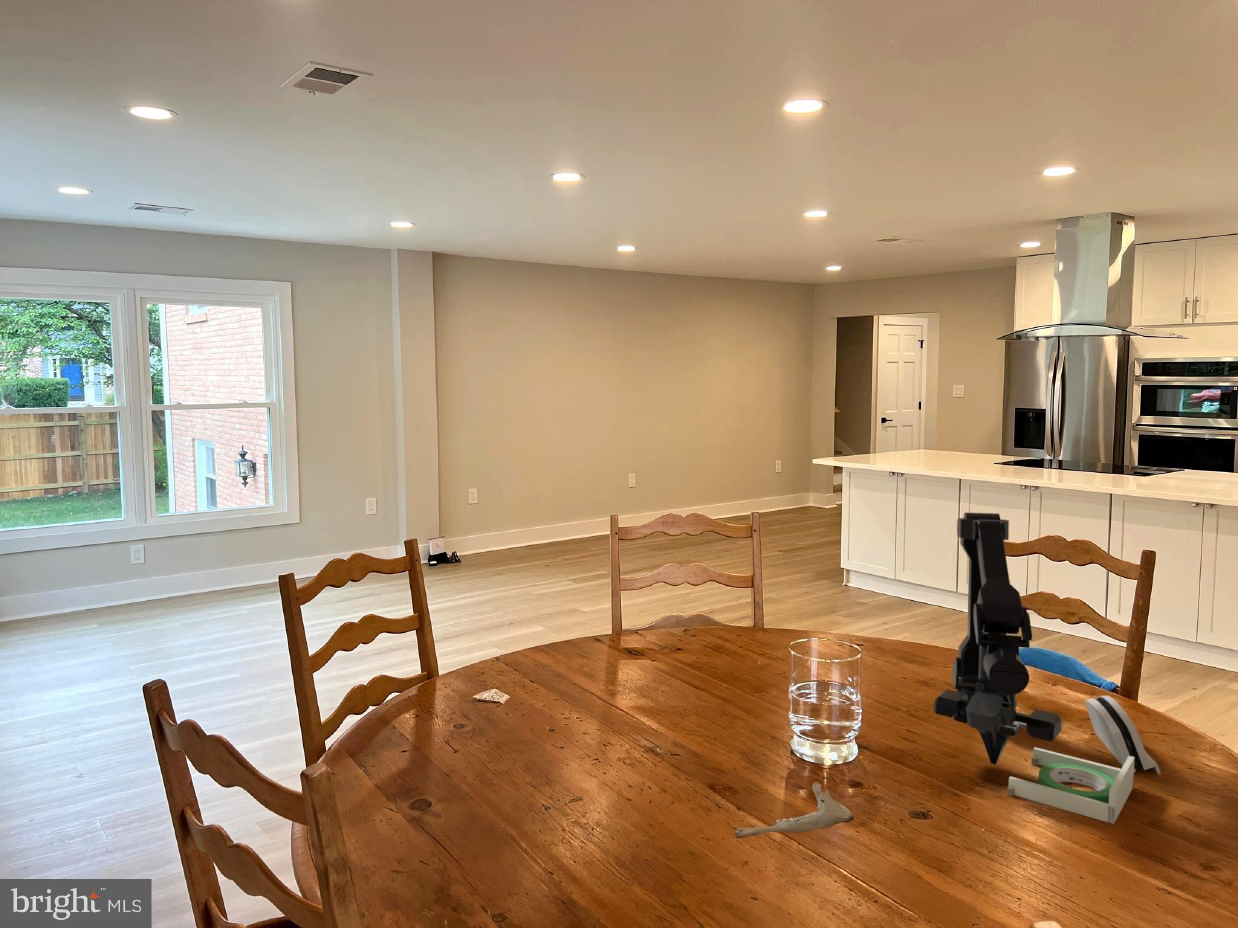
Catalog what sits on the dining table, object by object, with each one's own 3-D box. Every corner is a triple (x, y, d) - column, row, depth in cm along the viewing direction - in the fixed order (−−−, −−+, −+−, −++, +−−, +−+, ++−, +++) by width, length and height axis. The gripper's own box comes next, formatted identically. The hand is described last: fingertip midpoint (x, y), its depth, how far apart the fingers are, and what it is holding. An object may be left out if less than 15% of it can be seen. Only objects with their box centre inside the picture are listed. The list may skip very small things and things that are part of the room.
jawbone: (865, 815, 129) (866, 803, 129) (782, 869, 116) (783, 855, 115) (816, 790, 136) (817, 778, 135) (731, 839, 122) (732, 825, 122)
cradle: (1006, 795, 133) (1007, 764, 133) (1035, 759, 145) (1036, 731, 145) (1112, 826, 124) (1114, 793, 123) (1133, 785, 136) (1135, 755, 135)
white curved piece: (1162, 775, 139) (1142, 718, 139) (1131, 782, 140) (1111, 725, 140) (1124, 733, 156) (1106, 682, 155) (1097, 740, 157) (1079, 689, 156)
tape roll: (1111, 785, 137) (1112, 769, 136) (1124, 817, 126) (1124, 800, 126) (1035, 773, 141) (1035, 758, 141) (1041, 805, 131) (1041, 788, 130)
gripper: (923, 673, 140) (920, 764, 142) (1046, 700, 128) (1042, 799, 130) (946, 656, 149) (944, 742, 150) (1064, 679, 137) (1060, 772, 138)
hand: (994, 763), depth 142 cm, fingers closed
